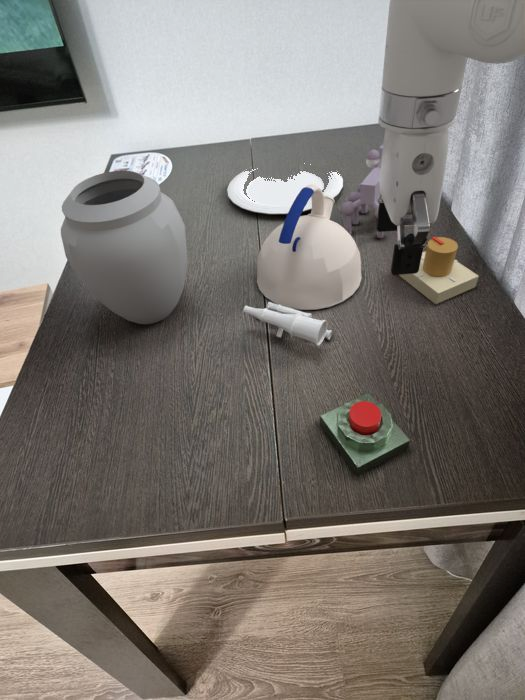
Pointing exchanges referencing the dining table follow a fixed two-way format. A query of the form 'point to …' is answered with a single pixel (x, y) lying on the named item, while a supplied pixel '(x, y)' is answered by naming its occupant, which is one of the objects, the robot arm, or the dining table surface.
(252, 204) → the plate
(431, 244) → the dimmer knob
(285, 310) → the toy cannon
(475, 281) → the dimmer panel
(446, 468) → the dining table surface
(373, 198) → the lavender toy animal
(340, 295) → the kettle
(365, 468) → the switch block
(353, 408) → the button
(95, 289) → the vase
